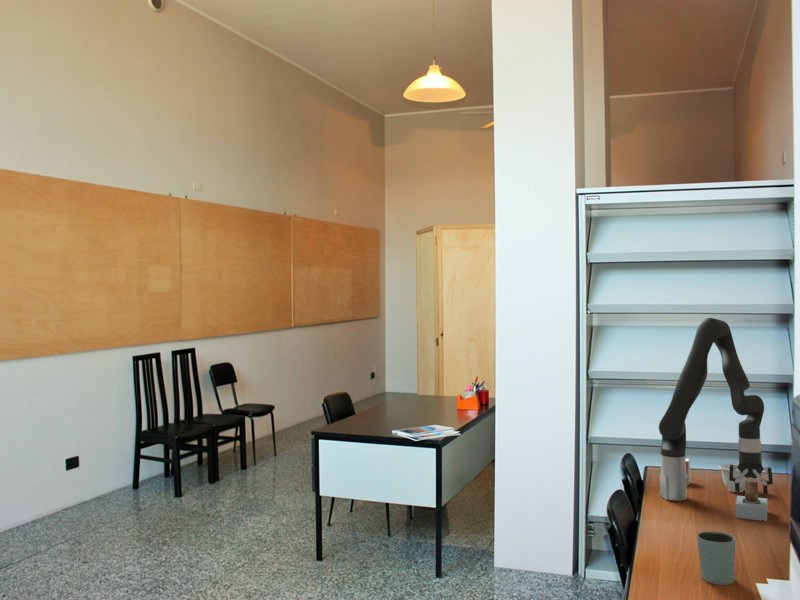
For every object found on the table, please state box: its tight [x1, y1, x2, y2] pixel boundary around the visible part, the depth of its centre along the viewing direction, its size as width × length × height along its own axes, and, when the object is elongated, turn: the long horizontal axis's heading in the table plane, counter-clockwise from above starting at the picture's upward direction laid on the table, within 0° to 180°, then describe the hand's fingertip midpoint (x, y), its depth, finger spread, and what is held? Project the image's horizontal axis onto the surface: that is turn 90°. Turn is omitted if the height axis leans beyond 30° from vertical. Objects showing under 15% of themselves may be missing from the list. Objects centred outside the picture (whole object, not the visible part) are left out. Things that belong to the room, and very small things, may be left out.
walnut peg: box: [744, 480, 759, 504], centre depth 255 cm, size 4×4×12 cm
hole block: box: [735, 495, 769, 522], centre depth 255 cm, size 12×10×5 cm
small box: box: [685, 458, 691, 486], centre depth 302 cm, size 8×6×10 cm
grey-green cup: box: [696, 530, 736, 586], centre depth 197 cm, size 10×10×12 cm
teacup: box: [718, 463, 759, 493], centre depth 286 cm, size 12×15×10 cm
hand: (751, 494), depth 255 cm, fingers open, 8 cm apart
